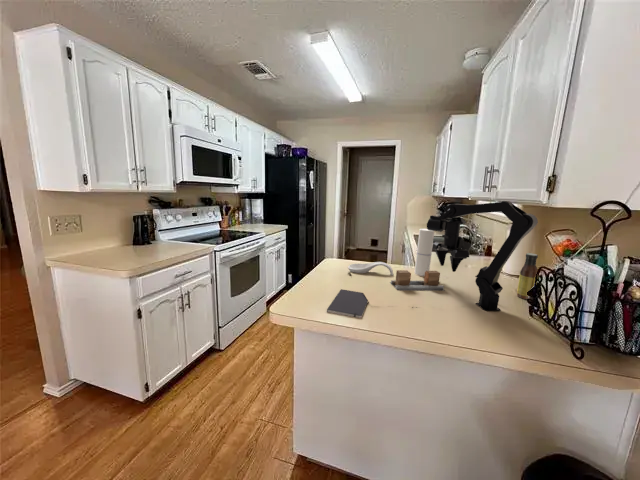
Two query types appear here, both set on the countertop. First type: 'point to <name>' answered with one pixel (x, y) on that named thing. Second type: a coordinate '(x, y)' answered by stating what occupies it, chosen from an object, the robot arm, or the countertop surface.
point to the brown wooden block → (431, 278)
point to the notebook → (348, 303)
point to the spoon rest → (367, 267)
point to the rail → (418, 286)
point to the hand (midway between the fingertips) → (447, 268)
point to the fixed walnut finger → (402, 277)
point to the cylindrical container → (424, 251)
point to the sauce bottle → (527, 276)
